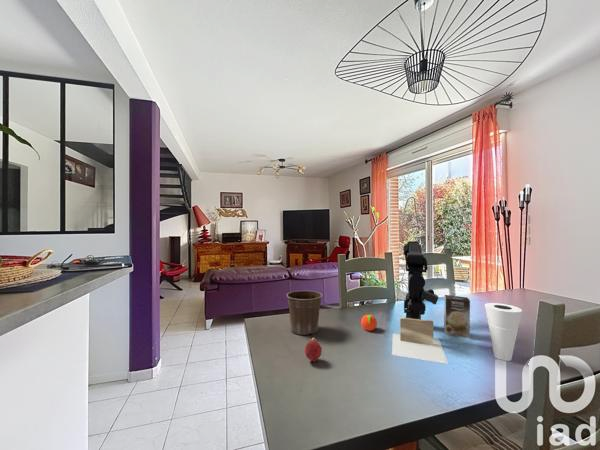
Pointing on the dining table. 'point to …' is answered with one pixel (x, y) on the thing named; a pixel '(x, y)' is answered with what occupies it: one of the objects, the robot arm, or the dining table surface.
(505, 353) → the cup
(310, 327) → the plant pot
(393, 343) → the mat
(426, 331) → the tile
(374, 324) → the clementine
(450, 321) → the coffee box
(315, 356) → the onion
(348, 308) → the dining table surface
